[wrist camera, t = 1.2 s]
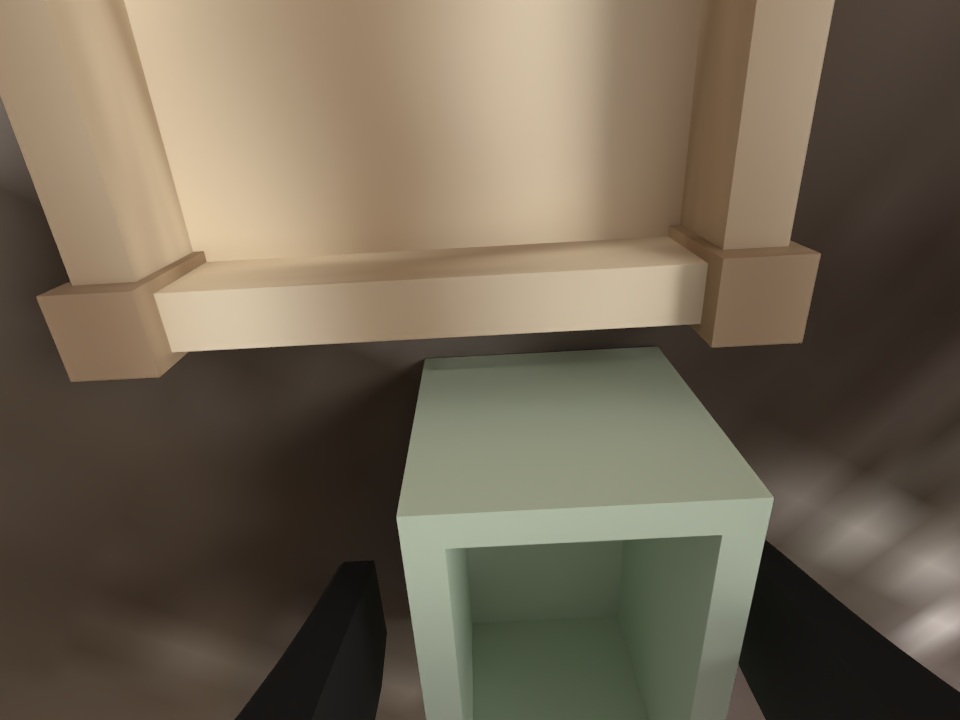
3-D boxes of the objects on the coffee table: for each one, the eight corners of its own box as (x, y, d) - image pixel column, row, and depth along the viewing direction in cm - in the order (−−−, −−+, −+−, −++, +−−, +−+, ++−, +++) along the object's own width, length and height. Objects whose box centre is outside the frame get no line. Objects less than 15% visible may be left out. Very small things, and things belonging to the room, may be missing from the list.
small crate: (657, 346, 12) (774, 497, 7) (633, 612, 15) (702, 828, 11) (424, 359, 12) (396, 516, 7) (452, 621, 15) (444, 840, 11)
